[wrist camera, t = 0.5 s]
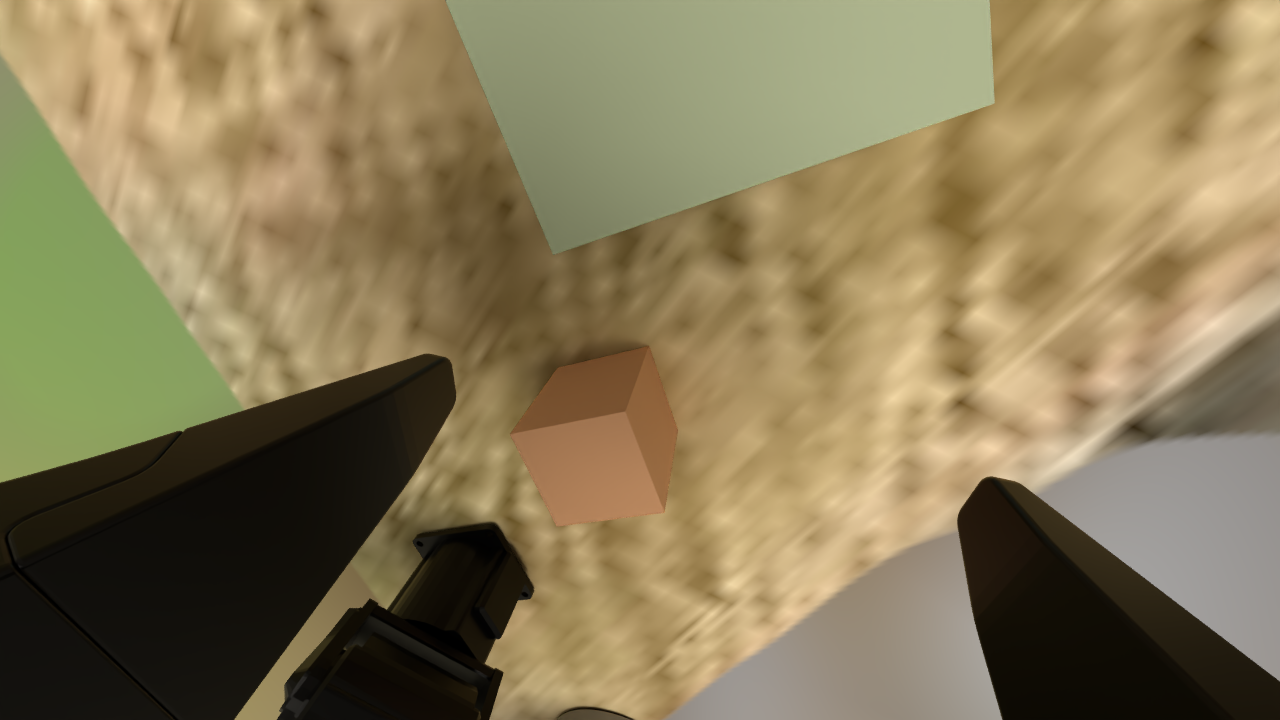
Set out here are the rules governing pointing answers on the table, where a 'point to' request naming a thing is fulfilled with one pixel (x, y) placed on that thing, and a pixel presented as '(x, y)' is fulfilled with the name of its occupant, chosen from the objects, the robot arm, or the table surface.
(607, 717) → the vase
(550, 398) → the terracotta block
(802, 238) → the table surface
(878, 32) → the sage slab
